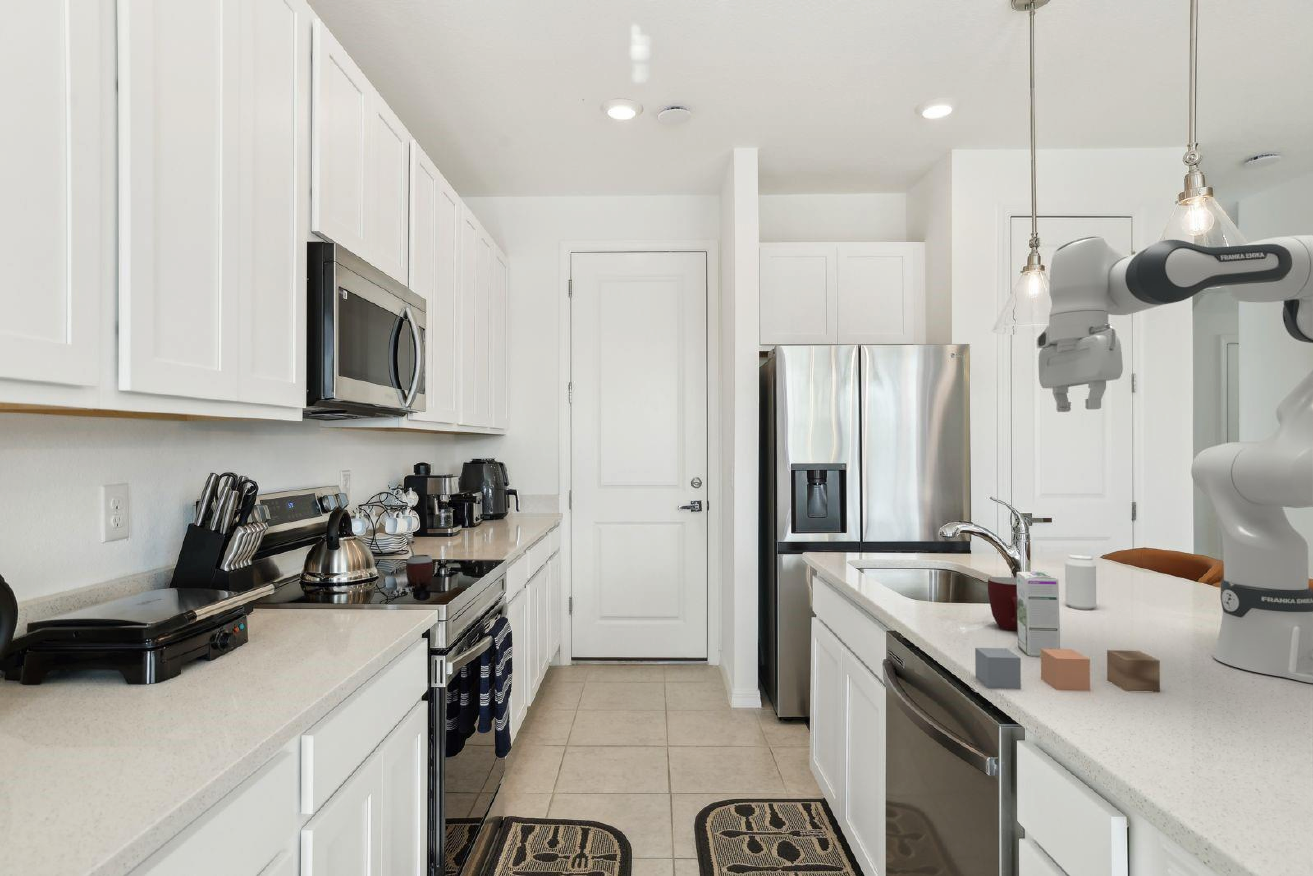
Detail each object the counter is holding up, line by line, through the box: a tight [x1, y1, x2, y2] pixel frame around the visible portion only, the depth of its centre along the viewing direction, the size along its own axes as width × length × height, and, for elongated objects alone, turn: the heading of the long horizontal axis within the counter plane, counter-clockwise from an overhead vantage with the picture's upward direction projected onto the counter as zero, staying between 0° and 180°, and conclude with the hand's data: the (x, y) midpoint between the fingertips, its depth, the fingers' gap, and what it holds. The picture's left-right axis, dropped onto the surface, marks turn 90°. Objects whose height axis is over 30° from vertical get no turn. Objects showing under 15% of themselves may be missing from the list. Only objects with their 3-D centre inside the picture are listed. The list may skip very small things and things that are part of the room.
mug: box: [987, 576, 1018, 632], centre depth 140 cm, size 10×8×10 cm
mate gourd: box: [400, 532, 434, 589], centre depth 185 cm, size 8×8×15 cm
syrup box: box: [1016, 571, 1061, 658], centre depth 125 cm, size 6×6×14 cm
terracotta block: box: [1040, 648, 1091, 692], centre depth 109 cm, size 5×5×5 cm
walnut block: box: [1106, 649, 1161, 693], centre depth 108 cm, size 5×5×5 cm
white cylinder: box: [1064, 554, 1097, 611], centre depth 159 cm, size 6×6×12 cm
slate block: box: [974, 647, 1022, 690], centre depth 109 cm, size 5×5×5 cm
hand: (1077, 410), depth 118 cm, fingers open, 8 cm apart
